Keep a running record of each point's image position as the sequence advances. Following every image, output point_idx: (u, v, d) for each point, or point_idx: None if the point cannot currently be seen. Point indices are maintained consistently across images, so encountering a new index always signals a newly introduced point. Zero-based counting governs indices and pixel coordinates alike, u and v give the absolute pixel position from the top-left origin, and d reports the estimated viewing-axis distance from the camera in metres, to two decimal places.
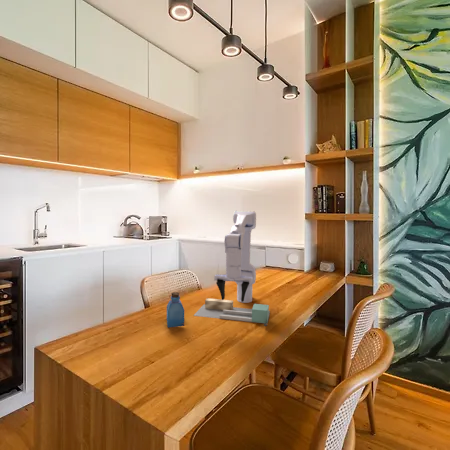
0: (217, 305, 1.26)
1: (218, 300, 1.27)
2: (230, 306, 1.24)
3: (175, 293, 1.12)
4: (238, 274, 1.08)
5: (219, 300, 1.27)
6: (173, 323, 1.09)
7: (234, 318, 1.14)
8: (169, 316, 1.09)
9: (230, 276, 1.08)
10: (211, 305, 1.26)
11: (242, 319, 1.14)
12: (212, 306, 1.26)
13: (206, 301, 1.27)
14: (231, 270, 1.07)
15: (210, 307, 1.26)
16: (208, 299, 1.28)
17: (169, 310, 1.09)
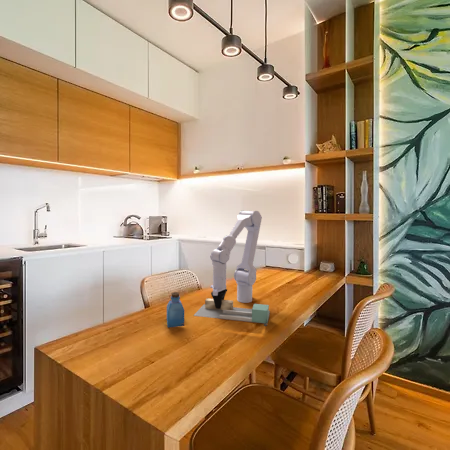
0: None
1: None
2: (230, 306, 1.24)
3: (175, 293, 1.12)
4: (214, 284, 1.24)
5: None
6: (173, 323, 1.09)
7: (234, 318, 1.14)
8: (169, 316, 1.09)
9: None
10: (211, 305, 1.26)
11: (242, 319, 1.14)
12: (212, 306, 1.26)
13: (206, 301, 1.27)
14: None
15: (210, 307, 1.26)
16: (208, 299, 1.28)
17: (169, 310, 1.09)
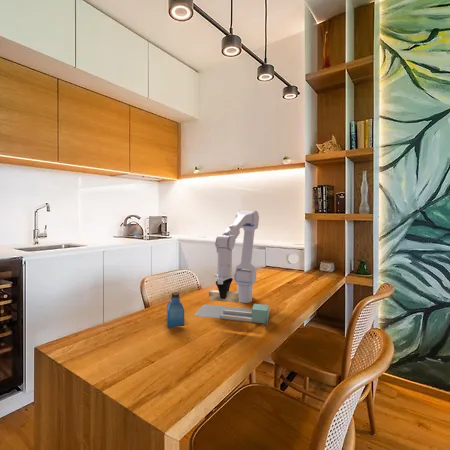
0: None
1: None
2: (236, 298, 1.16)
3: (175, 293, 1.12)
4: (219, 273, 1.16)
5: None
6: (173, 323, 1.09)
7: (234, 318, 1.14)
8: (169, 316, 1.09)
9: None
10: (215, 296, 1.18)
11: (242, 319, 1.14)
12: (216, 297, 1.18)
13: (210, 293, 1.18)
14: None
15: (214, 299, 1.18)
16: (212, 290, 1.19)
17: (169, 310, 1.09)
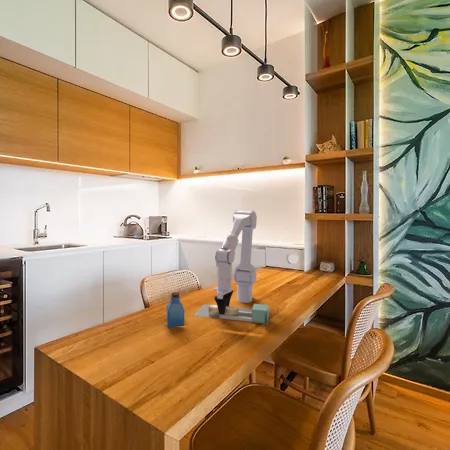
0: None
1: None
2: (235, 313, 1.16)
3: (175, 293, 1.12)
4: (219, 286, 1.16)
5: None
6: (173, 323, 1.09)
7: (234, 318, 1.14)
8: (169, 316, 1.09)
9: None
10: (215, 312, 1.18)
11: (242, 319, 1.14)
12: (216, 313, 1.18)
13: (210, 308, 1.19)
14: None
15: (214, 314, 1.18)
16: (212, 306, 1.20)
17: (169, 310, 1.09)
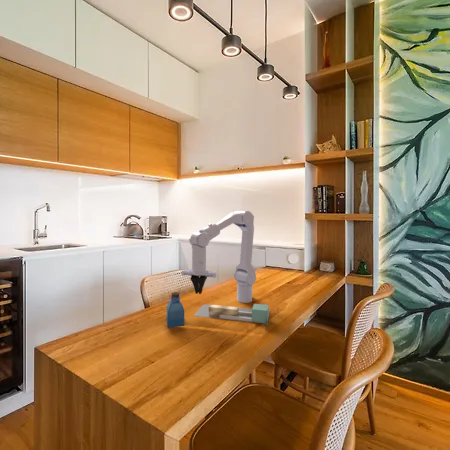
0: (221, 312, 1.17)
1: (222, 307, 1.19)
2: (235, 313, 1.16)
3: (175, 293, 1.12)
4: (203, 269, 1.18)
5: (224, 307, 1.19)
6: (173, 323, 1.09)
7: (234, 318, 1.14)
8: (169, 316, 1.09)
9: (195, 271, 1.18)
10: (215, 312, 1.18)
11: (242, 319, 1.14)
12: (216, 313, 1.18)
13: (210, 308, 1.19)
14: (196, 265, 1.17)
15: (214, 314, 1.18)
16: (212, 306, 1.20)
17: (169, 310, 1.09)
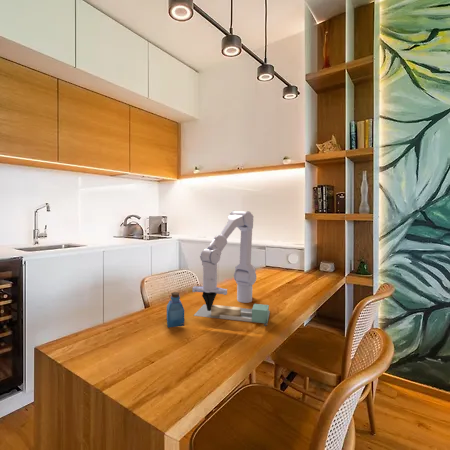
0: (224, 312, 1.17)
1: (225, 307, 1.18)
2: (238, 313, 1.16)
3: (175, 293, 1.12)
4: (214, 286, 1.17)
5: (226, 307, 1.18)
6: (173, 323, 1.09)
7: (234, 318, 1.14)
8: (169, 316, 1.09)
9: (206, 288, 1.17)
10: (217, 312, 1.18)
11: (242, 319, 1.14)
12: (218, 313, 1.18)
13: (212, 308, 1.18)
14: (207, 282, 1.17)
15: (216, 314, 1.18)
16: (214, 306, 1.20)
17: (169, 310, 1.09)
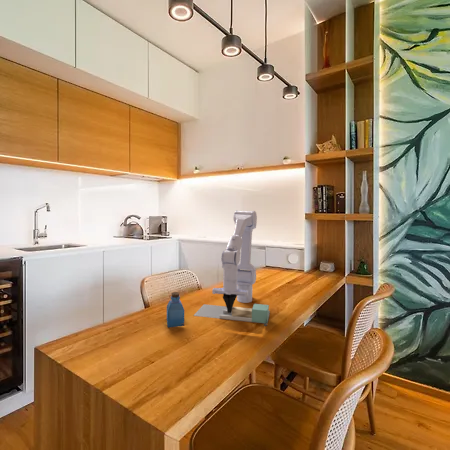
0: (245, 314, 1.15)
1: (246, 309, 1.16)
2: None
3: (175, 293, 1.12)
4: (234, 288, 1.15)
5: (247, 309, 1.16)
6: (173, 323, 1.09)
7: (234, 318, 1.14)
8: (169, 316, 1.09)
9: (227, 290, 1.15)
10: (238, 314, 1.16)
11: (242, 319, 1.14)
12: (239, 315, 1.16)
13: (233, 310, 1.16)
14: (228, 284, 1.15)
15: None
16: (235, 308, 1.18)
17: (169, 310, 1.09)
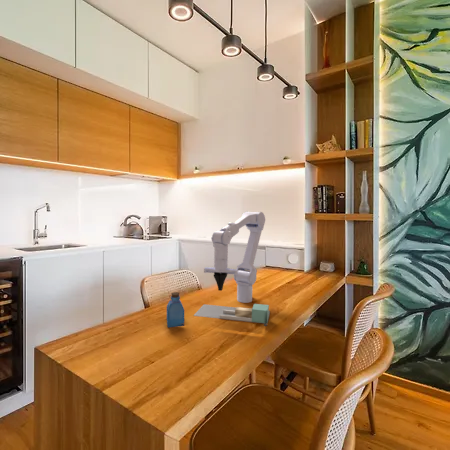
0: (248, 315, 1.15)
1: (249, 309, 1.16)
2: None
3: (175, 293, 1.12)
4: (225, 267, 1.21)
5: (250, 309, 1.16)
6: (173, 323, 1.09)
7: (234, 318, 1.14)
8: (169, 316, 1.09)
9: (218, 268, 1.21)
10: (242, 314, 1.16)
11: (242, 319, 1.14)
12: (243, 315, 1.16)
13: (236, 310, 1.16)
14: (219, 263, 1.21)
15: None
16: (238, 308, 1.17)
17: (169, 310, 1.09)
